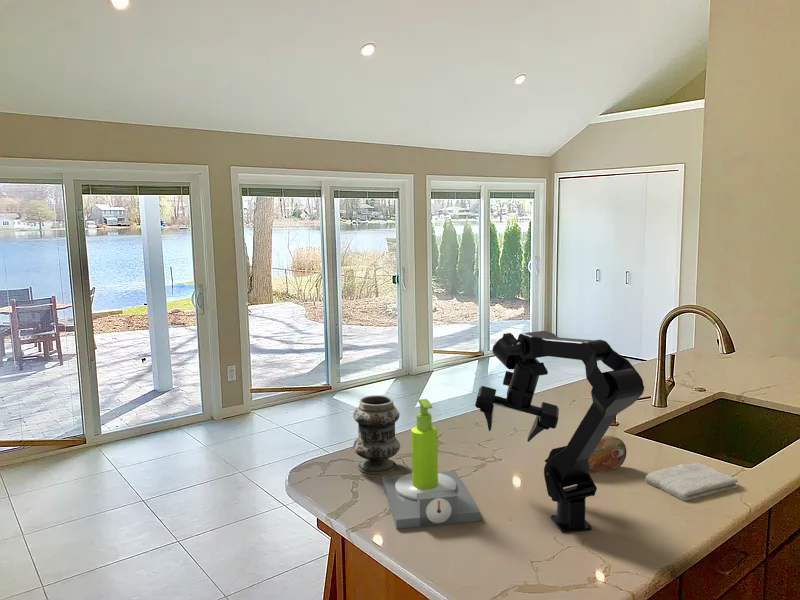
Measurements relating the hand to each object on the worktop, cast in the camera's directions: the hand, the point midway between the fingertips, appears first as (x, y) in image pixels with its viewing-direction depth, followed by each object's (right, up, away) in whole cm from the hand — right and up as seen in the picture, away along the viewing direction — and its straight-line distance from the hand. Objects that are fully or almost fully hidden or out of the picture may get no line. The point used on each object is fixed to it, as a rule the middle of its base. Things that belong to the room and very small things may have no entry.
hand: (508, 435), depth 149 cm
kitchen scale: (-19, -14, -6) cm, 24 cm away
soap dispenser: (-20, -11, -4) cm, 23 cm away
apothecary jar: (-32, -11, +14) cm, 36 cm away
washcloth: (+43, -12, 0) cm, 45 cm away
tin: (+24, -11, +9) cm, 28 cm away
